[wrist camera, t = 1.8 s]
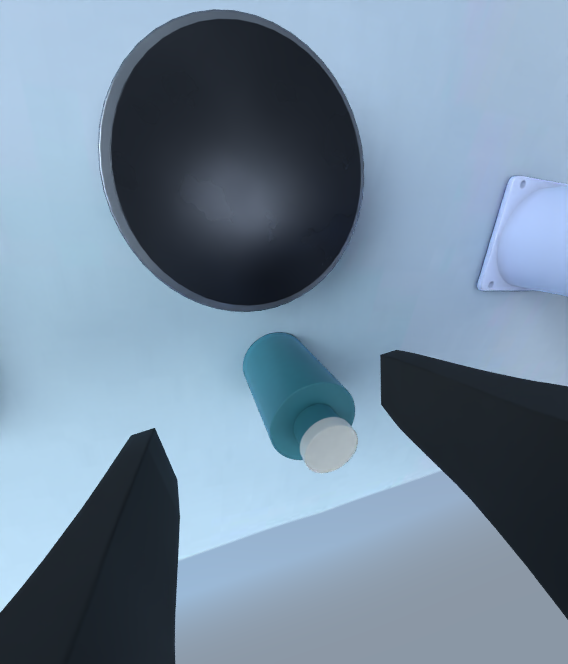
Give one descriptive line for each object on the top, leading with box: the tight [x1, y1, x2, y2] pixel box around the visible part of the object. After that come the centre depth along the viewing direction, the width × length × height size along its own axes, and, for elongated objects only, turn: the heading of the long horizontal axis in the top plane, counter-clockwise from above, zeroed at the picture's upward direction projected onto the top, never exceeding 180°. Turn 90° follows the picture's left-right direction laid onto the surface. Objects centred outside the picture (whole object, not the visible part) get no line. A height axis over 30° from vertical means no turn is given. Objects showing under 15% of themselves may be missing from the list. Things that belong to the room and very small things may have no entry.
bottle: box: [243, 333, 358, 473], centre depth 16 cm, size 4×4×8 cm
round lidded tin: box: [98, 10, 364, 312], centre depth 13 cm, size 10×10×5 cm
